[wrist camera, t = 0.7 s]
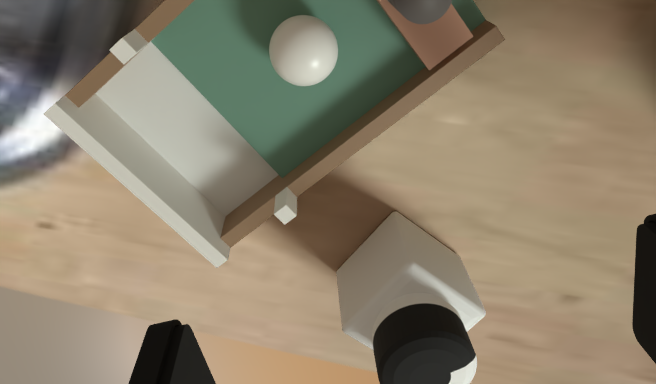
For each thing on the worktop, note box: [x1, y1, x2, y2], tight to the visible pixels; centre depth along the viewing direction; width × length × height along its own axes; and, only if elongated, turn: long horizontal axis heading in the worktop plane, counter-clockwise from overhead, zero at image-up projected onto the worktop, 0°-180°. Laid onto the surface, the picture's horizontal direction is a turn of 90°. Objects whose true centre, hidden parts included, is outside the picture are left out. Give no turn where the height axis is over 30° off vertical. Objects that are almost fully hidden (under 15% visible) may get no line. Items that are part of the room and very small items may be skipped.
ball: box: [269, 15, 338, 86], centre depth 32 cm, size 4×4×4 cm
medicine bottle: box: [336, 211, 486, 384], centre depth 38 cm, size 7×7×12 cm
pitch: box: [44, 0, 505, 268], centre depth 33 cm, size 23×14×6 cm, turn 129°
